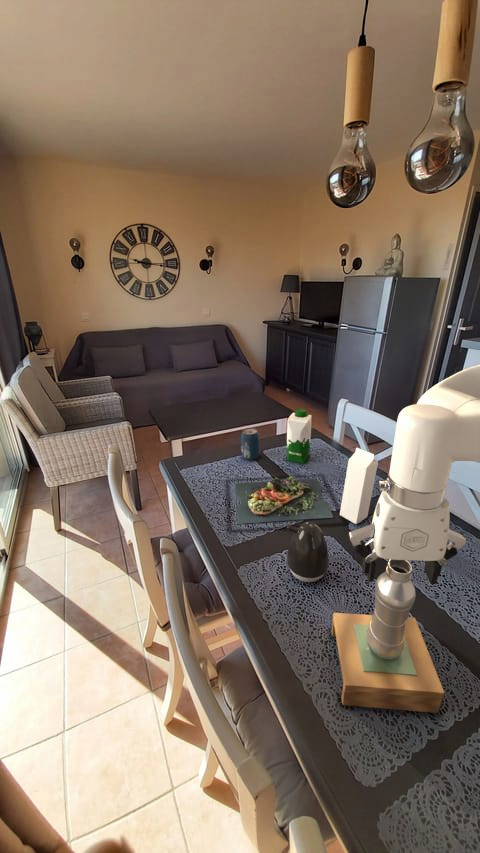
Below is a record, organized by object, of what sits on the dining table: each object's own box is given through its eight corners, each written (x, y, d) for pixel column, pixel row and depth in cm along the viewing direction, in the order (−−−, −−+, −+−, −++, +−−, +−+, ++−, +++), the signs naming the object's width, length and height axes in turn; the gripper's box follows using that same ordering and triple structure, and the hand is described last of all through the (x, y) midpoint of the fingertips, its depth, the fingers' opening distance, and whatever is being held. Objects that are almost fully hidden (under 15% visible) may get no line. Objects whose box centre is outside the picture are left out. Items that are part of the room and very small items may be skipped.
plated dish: (230, 533, 105) (229, 513, 102) (226, 482, 131) (225, 464, 128) (347, 526, 107) (350, 505, 104) (320, 477, 133) (322, 459, 130)
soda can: (258, 453, 150) (257, 426, 145) (259, 461, 143) (259, 434, 138) (241, 454, 149) (240, 427, 144) (242, 462, 143) (241, 435, 138)
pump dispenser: (286, 556, 96) (287, 509, 90) (326, 559, 95) (330, 512, 89) (284, 586, 87) (285, 537, 81) (328, 591, 86) (333, 541, 79)
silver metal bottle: (405, 640, 68) (424, 558, 59) (399, 672, 62) (419, 588, 54) (369, 624, 71) (383, 545, 62) (361, 654, 65) (374, 572, 57)
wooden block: (410, 637, 74) (415, 616, 72) (437, 714, 62) (444, 692, 59) (331, 632, 76) (333, 611, 74) (342, 706, 63) (345, 684, 61)
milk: (356, 524, 106) (368, 457, 98) (339, 515, 111) (349, 449, 103) (367, 517, 110) (380, 452, 102) (350, 508, 114) (361, 444, 106)
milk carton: (311, 455, 147) (313, 409, 138) (305, 466, 139) (308, 418, 131) (290, 451, 150) (291, 407, 142) (283, 462, 142) (285, 415, 134)
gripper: (359, 503, 50) (349, 592, 57) (492, 506, 48) (465, 598, 55) (349, 474, 57) (341, 557, 64) (465, 475, 55) (444, 561, 62)
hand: (398, 576), depth 59 cm, fingers open, 9 cm apart
